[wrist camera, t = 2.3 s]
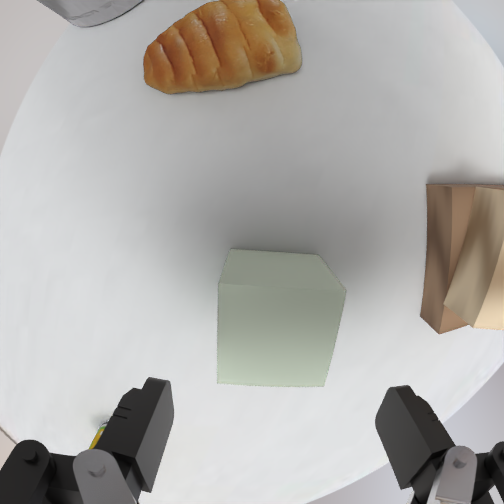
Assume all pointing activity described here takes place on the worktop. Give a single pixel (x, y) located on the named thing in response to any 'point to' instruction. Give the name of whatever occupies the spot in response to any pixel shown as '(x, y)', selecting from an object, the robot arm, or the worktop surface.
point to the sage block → (276, 319)
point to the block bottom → (445, 248)
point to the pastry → (223, 47)
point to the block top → (481, 265)
